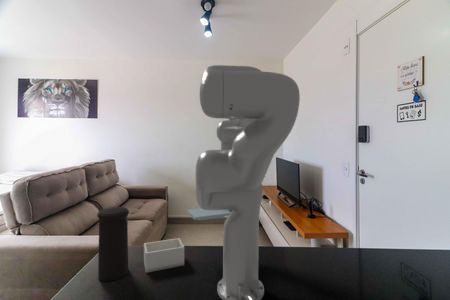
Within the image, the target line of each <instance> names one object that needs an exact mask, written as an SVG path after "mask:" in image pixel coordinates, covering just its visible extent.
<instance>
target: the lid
mask: <svg viewBox="0 0 450 300" xmlns="http://www.w3.org/2000/svg"><path fill="white" fill-rule="evenodd" d="M231 212H232V210H203V209H202V208H201V207H200V208H194V209H187V213H188V215H190V217H191V218H192V219H193V220H194V221H195V220H197V221H205V220H212V219H213V220H214V219H221V218H225V217H228V216H229V215H230V213H231Z"/></svg>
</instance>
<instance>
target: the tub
mask: <svg viewBox="0 0 450 300" xmlns="http://www.w3.org/2000/svg"><path fill="white" fill-rule="evenodd" d="M143 263H144V265H143V266H144V270H145V271H144V272H145V273H151V272H156V271H161V270H162V271H163V270H167V269H173V268H176V267H181V266H185V245H184V243H183V242H182V240H181V238H180V237H178V238H171V239H165V240H164V239H162V240H158V241H157V240H156V241H151V242H144V243H143Z"/></svg>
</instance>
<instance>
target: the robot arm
mask: <svg viewBox="0 0 450 300" xmlns="http://www.w3.org/2000/svg"><path fill="white" fill-rule="evenodd" d="M199 87H200V88H199V102H200V104H199V105H200V106H201V110H202V112H203V113H204V115H206V116H207V117H209V118H212V119H225V120H222V121H220V122H219V124H218V125H217V127H216V136H217V138H218V140H219V141H220V149H208V150H205V151H203V152H201V153H200V155H199V156H198V157H197V160H196V165H195V192H196V202H197V204H198V206H199V208H200V209H201V208H202V209H203V210H232V212H231V213H230V215H229V216H226V219H225V221H224V222H223V228H222V230H223V231H222V244H223V245H222V278H221V279H220V280H219V281H218V283H217V288H216V290H217V294H218V296H219V298H220V299H222V300H262V298H263V297H264V295H265V288H264V284H263V282H262V281H261V280H259V246H260V245H259V244H260V243H259V242H260V241H259V240H260V239H259V235H260V233H259V232H260V227H259V226H260V213H261V205H262V199H263V191H264V190H263V189H264V188H263V182H264V179H265V177H266V175H267V172H268V170H269V167H270V165H271V163H272V160H273V158H274V155H275V154H276V153H277V152H278V150H279V149H280V147H281V146H282V145H283V143H284V142H285V141H286V140H287V138H288V137H289V135H290V134H291V132H292V130H293V127H294V125H295V123H296V120H297V117H298V114H299V108H300V107H299V106H300V99H301V98H300V97H301V96H300V89H299V86H298V83H297V82H296V81H295V80H294V79H293V78H292V77H291V76H288V75H286V74H283V73H278V72H271V71H262V70H261V69H258V68H257V67H254V66H249V65H223V64H222V65H219V64H217V65H216V64H215V65H211V66H207V67H206V68H205V70H204V72H203V74H202V75H201V82H200V86H199Z"/></svg>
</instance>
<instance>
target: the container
mask: <svg viewBox="0 0 450 300" xmlns="http://www.w3.org/2000/svg"><path fill="white" fill-rule="evenodd" d="M129 213H130V210H129V209H128V208H126V207H125V206H124V207H123V206H113V207H107V208H103V209H101V210H99V211H98V213H97V214H96V216H97V218H98V264H97V265H98V270H97V271H98V272H97V273H98V274H97V276H98V280H100V281H102V282H112V281H116V280H119V279H122V278H123V277H124V276H126V275H127V274H128V271H129V246H128V245H129V241H128V240H129V239H128V238H129V237H128V235H129V234H128V233H129V232H128V227H129V226H128V220H129V219H128V217H129Z"/></svg>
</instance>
